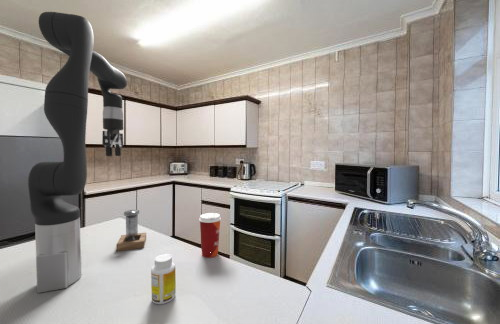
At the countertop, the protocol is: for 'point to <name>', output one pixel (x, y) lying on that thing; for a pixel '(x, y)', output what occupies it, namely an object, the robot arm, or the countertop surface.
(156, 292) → the supplement bottle
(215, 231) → the paper cup
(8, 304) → the countertop surface
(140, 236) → the collar block
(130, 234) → the pin
